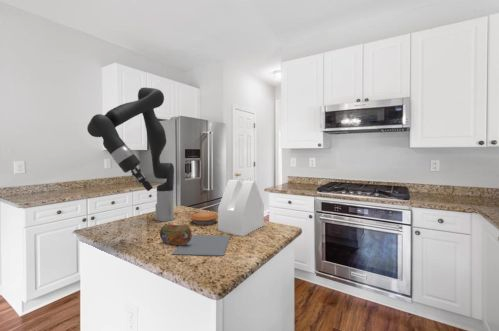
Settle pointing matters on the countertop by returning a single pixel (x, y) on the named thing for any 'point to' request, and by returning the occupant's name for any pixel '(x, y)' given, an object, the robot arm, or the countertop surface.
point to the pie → (204, 218)
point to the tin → (175, 234)
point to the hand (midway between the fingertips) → (150, 189)
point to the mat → (204, 246)
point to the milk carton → (240, 208)
